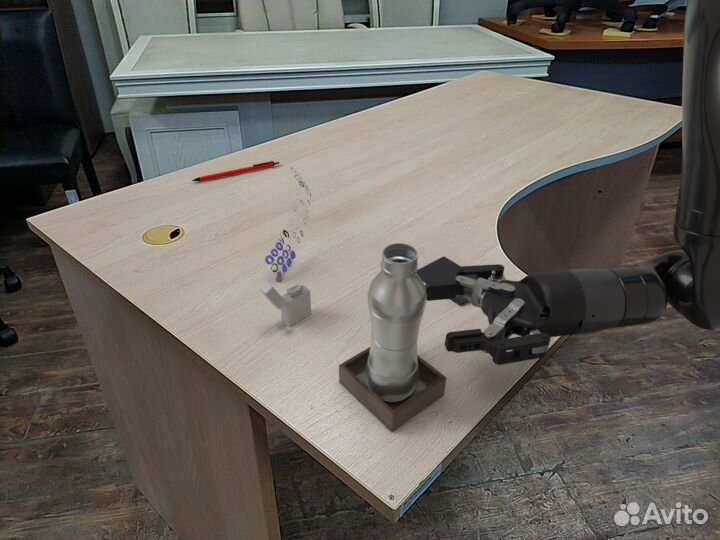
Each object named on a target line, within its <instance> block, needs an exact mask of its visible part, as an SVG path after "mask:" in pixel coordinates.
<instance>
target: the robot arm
mask: <svg viewBox="0 0 720 540" xmlns="http://www.w3.org/2000/svg"><path fill="white" fill-rule="evenodd" d="M683 25H684V27H683V46H682V47H683V51H682V89H681V91H682V93H681V135H682V136H681V137H682V138H681V139H682V143H681V144H682V145H681V146H682V147H681V149H682V151H681V152H682V153H681V171H680V179H679V180H680V181H679V187H678V194H677V200H676V208H675V213H674V214H675V215H674V221H673V237H674V240H675V242H676V243H677V245H678V246H679V247H680V248H681V249H675V250H674V249H673V250H670V251H666V252H664V253H661V254H658V255H655V256H653V257H651V258H648V259H645V260H643V261H641V262H638V263H636V264H633V265H624V266H615V267H605V268H604V267H602V268H600V267H599V268H597V267H594V268H593V267H581V268H570V269H559V270H558V269H557V270H548V271H538V272H531V273H528V274H527V275H526V276H525V277H523V278H522V279H520V280H510V279H507V278H506V277H505V274H504V272H505V266H504V265H503V264H499V263H497V264H496V263H495V264H480V265H479V264H477V265H460V266H459V267H457V268H456V275H455V278H454V279H452V280H442V281H432V282H429V283H425V284H424V285H425V288H426V292H427V302H434V301H441V300H442V301H443V300H451V299H453V298H455V297H458V298H461V299H464V300H468V301H469V302H470V304H471V305H472V306H473V307H476V308H479V309H481V311H482V313H483V314H484V315H485V316H486V317H487V321H488V324H489V325H488V326H487V327H486V328H485V329H484V330H483V331H482V329H481V328H475V329H473V328H472V329H465V330H455V331H449V332H447V333H446V334H445V337H444V338H445V339H444V347H445V350H446V352H452V353H456V354H461V353H472V352H479V351H481V352H482V353H484V354H488V355H490V357H492V362H493V363H494V364H495V365H497V366H502V365H507V364H513V363H518V362H519V363H520V362H524V361H531V360H536V359H542V358H545V357H546V355H547V352H548V350H549V347H550V343H551V338H556V337H564V336H574V335H581V334H590V333H598V332H601V331H605V330H609V329H616V328H624V327H625V328H626V327H633V326H641V325H648V324H650V323H653V322H656V321H657V320H659V319H660V318H661V317H662V316H663V315H664V313H665V311H666V309H667V306H668V305H669V306H671V307H672V308H673V309H674V310H675V311H676V312H678V313H679V314H680V315H681V316H682V317H684V318H685V319H686V320H687V321H688V322H690V323H691V324H692V325H694V326H696V327H698V328H700V329H702V330H707V331H720V0H686V5H685V13H684V24H683ZM466 275H474V276H473V278H468V277H466ZM468 287H469V288H472V289H473V292H469V291H466V290H464V289H465V288H468ZM482 289H487V291H485V292H484V293H483V297H482V294H481V291H482ZM513 335H515V336H513ZM511 336H513V337H511ZM716 540H720V535H719V536H718V538H717V539H716Z"/></svg>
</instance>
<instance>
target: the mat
mask: <svg viewBox="0 0 720 540" xmlns="http://www.w3.org/2000/svg"><path fill="white" fill-rule="evenodd" d="M459 266H461V265H460V264H458V263H456V262H455V261H453V260H451V259H449V258H448V257H447V256H441V257H440V258H437V259H435V260H434V261H432V262H430V263H428V264H426V265H424V266H422V267H421V268H418V270H417V272H416V273H417V275H418V276H419V277H420V279H421V280H422V282H423V283H424V284H427V283H429V282H432V281H442V280H452V279H454V278H455V275H456V268H457V267H459ZM473 276H474V275H466V277H468V278H473ZM464 290H466V291H469V292H473V289H472V288H469V287H468V288H465V289H464ZM487 291H488V290H487V289H482V291H481V295H482V294H485V293H486V292H487ZM450 300H451V301H453V303H456V304H457V305H459V306H460V307H462V306H464V305H466V304H467V303H469V302H470V301H468V300H464V299H461V298H458V297H455V298H453V299H450Z"/></svg>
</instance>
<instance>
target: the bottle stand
mask: <svg viewBox="0 0 720 540" xmlns="http://www.w3.org/2000/svg"><path fill="white" fill-rule="evenodd" d="M369 353H370V346H369V347H367V348H366V349H364V350H362V351H361V352H360V351H359V353H357V354H355V355H354V356H352V357H350V358H349V359H347V360H345V361H344V362H342V363H340V364H339V365H338V383H340V385H342V386H343V387H344V388H345V389H346V390H347V391H348V392H349V393H350V394H351V395H352V396H353V397H354V398H355V399H356V400H357V401H358V402H359V403H360V404H362V406H364V407H365V408H366V409H367V411H369V412H370V413H371V414H372V415H373V416H374V417H375V418H376V419H377V420H378V421H379V422H380V423H381V424H382V425H383V426H384V427H385V428H387V430H389V432H391V433H393V432H394V431H396V430H397V429H398V428H400V427H401V426H402V425H403V424H405V423H406V422H408V421H410V420H411V419H412V418H413V417H415V416H416V415H418V414H419V413H420V412H422V411H423V410H424V409H426V408H427V407H429V406H431V404H433V403H434V402H436V401H437V400H438V399H440V398H442V396H444V395H445V391H446V382H447V377H446V376H445V375H444V374H443V373H442V372H440V371H439V370H438V369H436V368H435V367H434V366H432V365H431V364H430V363H429V362H428V361H426V360H425V359H424V358H423V357H421V356H420V355H418V354H417V360H418V367H419V380H421V381H422V382H423V383H424V384H425V385H427V386H426V387H424V388H423V389H422V390H420V391H419V392H417V393H416V394H414V395H413V396H411V397H410V398H409V399H407V400H405V401H404V402H402V403H401V404H400V405H398V406H396V407H395V408H394V409H393V408H391V406H390V405H388V404H387V403H386V401H383V400H381V399H380V398H379V397H378V396H377V395H376V394H375V393H374V392H373V391H372V390H371V389H369V388H368V386H367V384H365V383H364V381H362V380H361V379H360V378H359V377H357V375H359V374H361V373H362V372H365V369H366V364H367V360H368V357H369Z"/></svg>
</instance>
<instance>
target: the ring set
mask: <svg viewBox="0 0 720 540" xmlns="http://www.w3.org/2000/svg"><path fill="white" fill-rule="evenodd" d="M290 170H291V171H292V172H293V173H295V174H294V178H295V180H297V183H298V185H299V186H300V187H301V188H304V191H305V192H306V194H307V195H309V198H310V200H311V201H312V200H313V198H312V193H311V191H310V188H309V186H308V184H307V183H306V181H303V178H302V177H301V174H300V173H299V172H298V171H295V168H294V167H292V166H291V167H290ZM297 177H298V178H297ZM300 187H298V188H297V190H298V193H299V194H301V192H300V191H299V190H300ZM297 199H298V198H297ZM298 201H300V205H303V206H305V207H306V212H305V210H302V211H303V213H304V212H305V216H308V215H309V212H310V209H309V207H308V206H307V205H305V204H304V202H303V201H304V200H301V199H298ZM294 202H297V201H296V200H295V201H294ZM307 203H308V205H309V206H311V204H310V201H309V199H307ZM293 209H294V208H292V209H291V210H292V211H293V212H294V213H297V210H296V209H295V210H293ZM300 215H302V212H300V211H299V212H298V213H297V216H300ZM291 218H292V219H293V220H294V217H293V213H291ZM291 218H289V219H288V221H291V222H292V223H294V221H293V220H292V219H291ZM306 219H307V220H308V219H309V217H306V218H305V217H303V220H302V221H303V225H304V226H306V225H307V220H306ZM296 221H299V219H298V218H297V219H296ZM288 224H289V226H291V227H293V226H294V224H290V222H288ZM285 226H286V228H288V225H285ZM295 229H296V227H295ZM282 233H283V237H282V236H280V238H279V237H277V239H278V241H277V242H276V243H275V248H272V249H271V250H270V254H268V255H266V256H265V258H264V261H265V263H266V264H267V265H271V266H270V270H271V271H272V273H276V275H275V281H276V282H281V280H282V278H283V274H285V273H287V271H288V268H291V267H292V265H293V263H292V260H295V259H296V256H297V255H296V252H295V251H294V250H293V249H292V247H291V246H290V245H289V244H285V240H284V238H286V239H289V238H290V240H292V241H294V239H295V238H296V242H297V244H300V241H301V239H300V237H299V236H297V234H296V232H295V231H293V234H294V235H292V237H293V238H291V237H290V233H289V232H288V231H287V230H286V229H283V230H282ZM299 233H300V235H301V237H302V238H304V232H303V231H302V229H300V230H299ZM298 239H299V240H298ZM289 242H290V244H292V242H291V241H289ZM284 245H286V249H284ZM279 251H280V252H281V251H282V255H279ZM274 252H275V253H274ZM285 253H286V254H285ZM285 255H286V256H285ZM275 258H276V262H275ZM269 259H270V260H271V261H269ZM280 260H281V261H280ZM285 260H286V264H285ZM274 266H275V269H273V267H274ZM279 266H281V271H280V270H279ZM282 273H283V274H282Z"/></svg>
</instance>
